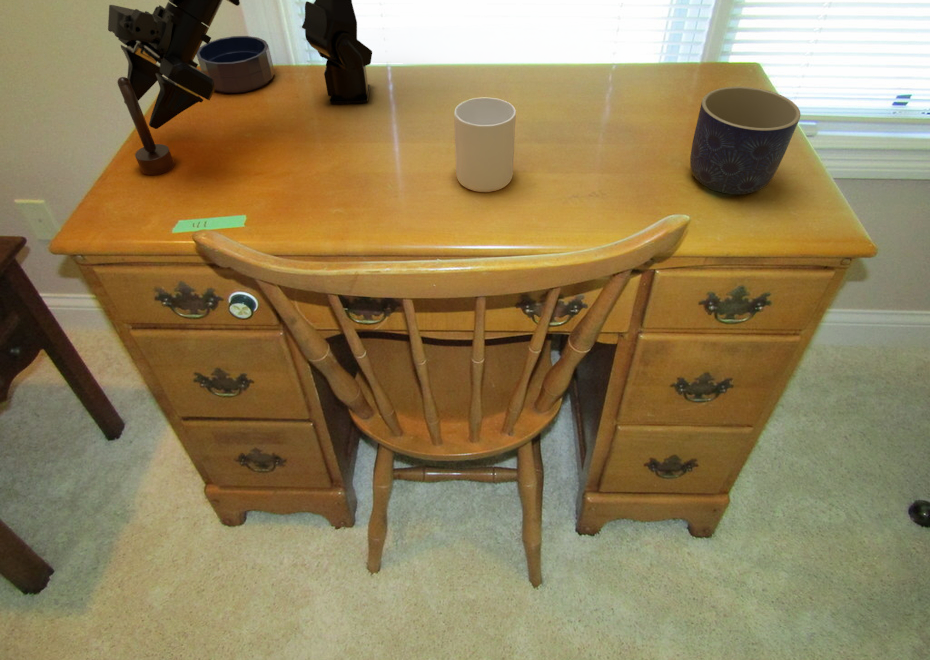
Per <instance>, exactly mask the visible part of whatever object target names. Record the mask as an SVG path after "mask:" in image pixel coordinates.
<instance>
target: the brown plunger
mask: <svg viewBox="0 0 930 660" xmlns="http://www.w3.org/2000/svg"><path fill="white" fill-rule="evenodd" d="M116 83H117V87H118V88H119V91H120V93H121V96H122V98H123V102H124V101H125V103H126V104H125V103H124V104H125V105H126V107H127V111H128V112H129V114H130V117H131V120H132V122H133V125H134V128H135V129H136V132H137V135H138V136H139V139H140V141H141V144H142V147H141V148H139V149H138V150H136V151H135V153H134V157H135V160H136V162H137V164H138V167H139V168H140V171H141V173H142V174H144V175H147V176H159V175H162V174H166V173H168V172H170V171H171V170H172V169H173V168H174V167H175V161H174V158H173V155H172V152H171V150H170V147H169V146H167V145H166V144H163V143H155V139H154V138H153V135H152V133H151V130H150V128H149V126H148V125H149V124H148V123H147V121H146V118H145V115H144V113H143V111H142V108H141V105H140V103H139V101H138V100H137V98H136V95H135V93H134V90H133V88H132V85H131V83H130V81H129V79H127V76H121V77H119V78H118V79H117V81H116Z"/></svg>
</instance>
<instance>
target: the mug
mask: <svg viewBox="0 0 930 660" xmlns="http://www.w3.org/2000/svg"><path fill="white" fill-rule="evenodd" d="M453 116H454V117H453V118H454V119H453V120H454V156H455V157H454V158H455V174H456V179H457V181H458V183H459V184H460V185H461V186H463V187H464V188H465V189H467V190H470V191H473V192H477V193H479V192H480V193H490V192H496V191H499V190H502V189H504V188H505V187H506V186H507V185H509V184H510V182H511V181H512V179H513V176H514V163H515V161H514V160H515V143H516V142H515V140H516V121H517V120H516V118H517V111H516V108H515V106H514V105H513V104H512V103H510V102H509V101H508V100H507V101H506V100H505V99H501V98H497V97H486V96H485V97H481V96H480V97H473V98H470V99H467V100H464V101H462V102H460V103H458V105H456V107H455V108H454V111H453Z"/></svg>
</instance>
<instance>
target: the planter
mask: <svg viewBox="0 0 930 660" xmlns="http://www.w3.org/2000/svg"><path fill="white" fill-rule="evenodd" d="M801 115H802V114H801V110H800V108H799V107H798V106H797V104H795V102H793V101H792V100H791V99H789V98H788V97H786V96H784V95H782V94H780V93H777V92H774V91H772V90H768V89H764V88H758V87H752V86H740V85H739V86H737V85H735V86H726V87H720V88H716V89H713V90H711V91H709V92H708V93H706V94H705V95H704V96H703V98H702V99H701V103H700V108H699V112H698V116H697V121H696V125H695V130H694V133H693V138H692V144H691V148H690V156H689V157H690V158H689V165H690V170H691V173H692V176H693V177H694V178H695V179H696V180H697V181H698V182H699V183H700V184H701V185H702V186H704V187H706V188H707V189H710V190H713V191H715V192H718V193H722V194H727V195H746V194H747V195H748V194H752V193H754V192H755V193H756V192H757V191H760V190H762V189H763V188H764V187H766V186H767V185H768V184H769V183H770V182H771V180H772V179H773V178H774V176H775V174H776V172H777V170H778V168H779V167H780V165H781V163H782V161H783V160H784V159H783V158H784V156H785V154H786V152H787V150H788V147H789V145H790V143H791V140H792V138H793V136H794V134H795V131H796V129H797V126H798V124H799V121H800V119H801Z"/></svg>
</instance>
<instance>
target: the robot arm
mask: <svg viewBox="0 0 930 660" xmlns="http://www.w3.org/2000/svg"><path fill="white" fill-rule="evenodd" d="M226 1H227V2H229V3H231V4H232V5H234V6H236V7H238V6H240V4H241V2H240V0H226ZM223 2H224V0H168V2H167V3H166V5H165V7H163V6H162V5H160V4H159V5H158V6H155V8H154V10H153V12H152V13H150V12H149V11H147V10H145V11H143V10H139V9H137V8H135V9H133V8H128V7H123V6H119V5H115V4H108V19H107V21H108V22H107V30H108V32H110V33H113V34H114V36H115V37H116V38H118V39H117V40H118V41H119V42H121V43H122V44H123V45H122V44H120V49H121V50H122V52H123V54H124V56H125V58H126V60H127V64H128V66H127V75H126V78H127V79H129V81H130V83H131V85H132V88H133V90H134V93H135V95H136V98H137V100H138V102H139V101H140V100H141V99H142V98H143V97H144V95H146V93H147V92H149V90H150V89H151V88H152V87H153V86H154V85H155V84H156V83H158V86H159V92H158V94H157V97H156V100H155V103H154V106H153V108H152V109H153V110H152V112H151V115H150V119H149V122H148V125H149V126H148V127H150V128H152V129H154V130H158V129H159V128H161V127H163V125H165V124H167V123H168V122H169V121H171V120H172V119H174V118H176V117H177V116H178V115H180V114H182V113H183V112H184V111H186V110H188V109H189V108H191V107H193V106H194V105H196V104H198V103H203V102H204V99H205V100H207V101H211V98H212V96H213V94H214V93H215V85H214V82H213V79H212V78H211V77H209V76H208V75H206V74H205V73H204V72H202V71H201V69H199V68H198V65H199V63H197V62H195V58H196V57H197V56H196V54H197V52H198V50H199V48H200V47H201V46H202V44H203V42H204V43H205V44H206V43H207V44H209V42H211V41H212V40H211V39H212V37H211V36H209V35H207V33H208V31H209V30H210V27H211V25H212V23H213V21H214V19H215V17H216V15H217V13H218V11H219V9H220V7H221V5H222V3H223ZM354 9H355V8H354V5H353V0H314V2H310V1H305V4H304V20H303V23H302V25H301V28H302V29H304V30H305V31H304V32H305V35H304V37H305V40H306V41H307V43H308V44H309V45H310V47H311V48H312V49H314V50H316V51H317V54H319V56H320V57H321V58H323V59H325V60H326V63H325V69H324V73H323V75H324V81H325V87H326V92H327V96H328V97H330V98H329V103H330V104H331V105H337V104H338V105H339V104H342V105H343V104H344V105H345V104H367V103H368V102H369V96H370V90H371V85H370V83H369V82H368V74H367V66H370V65H371V63H372V58H373V50H371V49H370V48H369V47H368V46H366V45H365V44H364V43H362V42H361V41H360V40H358V20H357V17H356V13H355V10H354ZM123 102H124V104H125V105H126V103H125V101H124V100H123Z"/></svg>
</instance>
